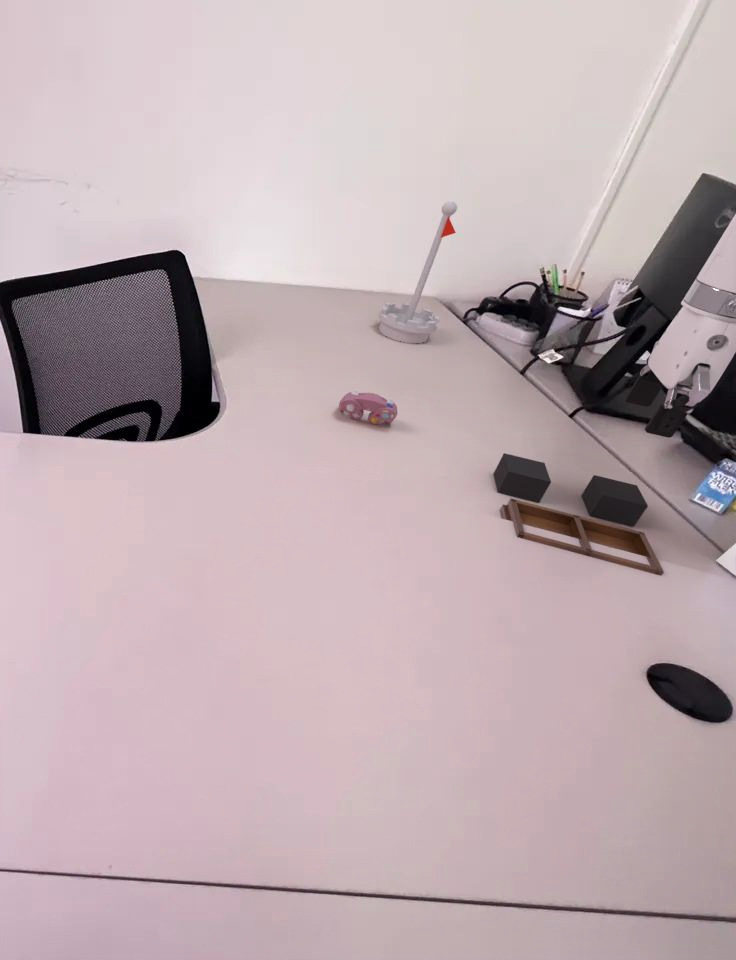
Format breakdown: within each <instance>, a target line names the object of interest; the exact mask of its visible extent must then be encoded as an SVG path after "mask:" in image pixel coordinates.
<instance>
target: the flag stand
mask: <svg viewBox="0 0 736 960" xmlns="http://www.w3.org/2000/svg"><path fill="white" fill-rule="evenodd" d="M457 211H458V205H457V203H456V202H454V201H451V200H449V201H446V202H444V203H443V204H442V206H441V214H442V216H441V219H440V222H439V225H438V228H437V230H436V232H435V236H434V238H433V241H432V244H431V246H430V248H429V252H428V255H427V257H426V260H425V263H424V265H423V269H422V271H421V274H420V277H419V280H418V282H417V284H416V288H415V291H414V293H413V296H412V299H411V301H410V303H405V302H402V303H401V306H400V307H398V306H397V305H396V303H395V302H387V303H385V304H384V305H381V308H380V310H379V313H378V319H379V320H380V325H379V327H378V332H380V334H381V335H383V336H385V337H386V336H387V338H389V339H391V340H394V341H396V342H400V341H401V343H406V344H413V343H414V344H415V343H419V344H424V343H426V342H427V341H428V338H429V337H430V334H431V333H434V332H435V331H436V330H437V329H438V326H439V323H440V321H441V317H440V315H433V313H434V311H432V310H430V309H428V308H425V307H423V308H421V310H420V311H418V310H417V307H418V304H419V302H420V299H421V296H422V293H423V291H424V288H425V286H426V283H427V281H428V278H429V275H430V272H431V270H432V267H433V264H434V262H435V259H436V256H437V253H438V251H439V248H440V245H441V242H442V240H443V238H445V237H448V236H450V235H453V234H456V230H455V228H454V225H453V223H452V220H451V219H450V218H451V216H453V215H454V214H455V213H456V212H457ZM396 306H397V307H396ZM432 315H433V316H432ZM423 342H424V343H423ZM415 345H416V344H415Z"/></svg>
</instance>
